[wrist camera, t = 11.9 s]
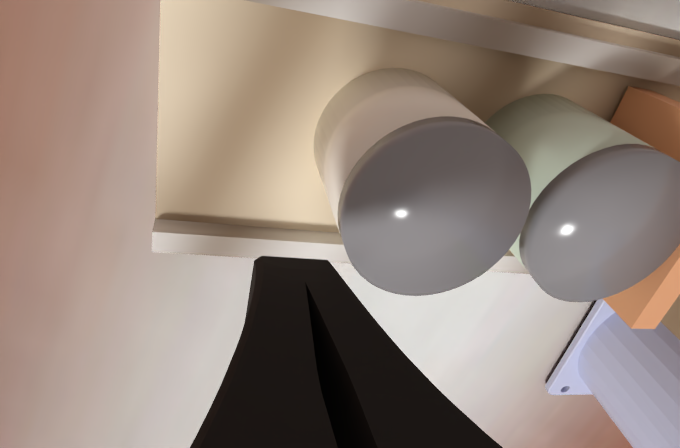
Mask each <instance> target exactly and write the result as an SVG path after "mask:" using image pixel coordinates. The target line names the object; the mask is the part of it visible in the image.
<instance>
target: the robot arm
mask: <svg viewBox="0 0 680 448" xmlns="http://www.w3.org/2000/svg"><path fill="white" fill-rule="evenodd" d="M545 388H546V390H547V391H548V393H549V394H551V395H579V394H593V395H594V396H595V397H596V399H597V400H598V401H599V403H600V404H601V405H602V407H603V408H604V409H605V411H606V412H607V413H608V415H609V416H610V417H611V419H612V420H613V421H614V423H615V424H616V425H617V427H618V428H619V429H620V431H621V432H622V433H623V435H624V436H625V437H626V439H627V440H628V441H629V443H630V444H631V445H632V447H633V448H680V340H679V339H678V338H677V337H676V336H675V335H674V334H673V333H672V332H671V331H670V330H669V329H668V328H667V327H665V326H664V325H663V324H662V323H661V322H660V323H659V324H658V325H657V327H656V328H655V329H631V328H630V327H629V326H628V325H627V324H626V323H625V322H624V321H623V320H622V319H621V318H620V317H619V315H618V314H617V313H616V312H615V311H614V310H613V309H612V308H611V307H610V306H609V305H608V304H607V303H606V302H605V301H604V300H603V299H599V300H597V301H596V303H595V305H594V306H593V308H592V310H591V311H590V313H589V314H588V316H587V318H586V319H585V321H584V323H583V324H582V326H581V328H580V329H579V331H578V332H577V334H576V336H575V337H574V339H573V341H572V342H571V344H570V346H569V347H568V349H567V350H566V352H565V354H564V355H563V357H562V359H561V360H560V362H559V364H558V365H557V367H556V368H555V370H554V372H553V373H552V375H551V377H550V378H549V380H548V382H547V383H546V386H545ZM190 448H502V447H501V446H500V445H499V444H498V443H496V442H495V441H494V440H493V439H492V438H491V437H489V436H488V435H487V434H486V433H485V432H484V431H482V430H481V429H480V428H479V427H478V426H477V425H476V424H475V423H474V422H473V421H472V420H470V419H469V418H468V417H467V416H466V415H465V414H464V413H463V412H462V411H461V410H459V409H458V408H457V407H456V406H455V405H454V404H453V403H452V402H451V401H450V400H449V399H448V398H447V397H446V396H444V395H443V394H442V393H441V392H440V391H439V390H438V389H437V388H436V387H435V386H434V385H433V384H432V383H431V382H430V381H429V380H428V378H427V377H426V376H425V375H424V374H423V373H422V372H421V371H420V370H419V369H418V368H417V367H416V366H415V365H414V364H413V363H412V362H411V361H410V360H409V359H408V357H407V356H406V355H405V354H404V353H403V352H402V351H401V350H400V349H399V347H398V346H397V345H396V344H395V343H394V342H393V341H392V339H391V338H390V337H389V336H388V335H387V334H386V332H385V331H384V330H383V329H382V328H381V326H380V325H379V324H378V323H377V322H376V321H375V319H374V318H373V317H372V316H371V314H370V313H369V312H368V311H367V309H366V308H365V307H364V306H363V304H362V303H361V302H360V301H359V299H358V298H357V297H356V296H355V294H354V293H353V292H352V290H351V289H350V288H349V287H348V285H347V284H346V283H345V281H344V280H343V279H342V278H341V276H340V275H339V274H338V272H337V271H336V270H335V269H334V267H333V266H332V265H331V264H330V262H329V261H328V260H322V259H306V258H290V257H274V256H261V257H259V258H258V259H256V260H255V261H254V267H253V273H252V280H251V286H250V293H249V299H248V306H247V313H246V319H245V324H244V327H243V331H242V334H241V337H240V340H239V342H238V345H237V347H236V350H235V352H234V355H233V357H232V360H231V362H230V365H229V367H228V370H227V372H226V375H225V377H224V379H223V382H222V384H221V386H220V388H219V391H218V393H217V395H216V397H215V399H214V401H213V403H212V406H211V408H210V410H209V412H208V414H207V416H206V418H205V420H204V422H203V424H202V426H201V428H200V430H199V432H198V434H197V436H196V438H195V439H194V441H193V443H192V445H191V447H190Z"/></svg>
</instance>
